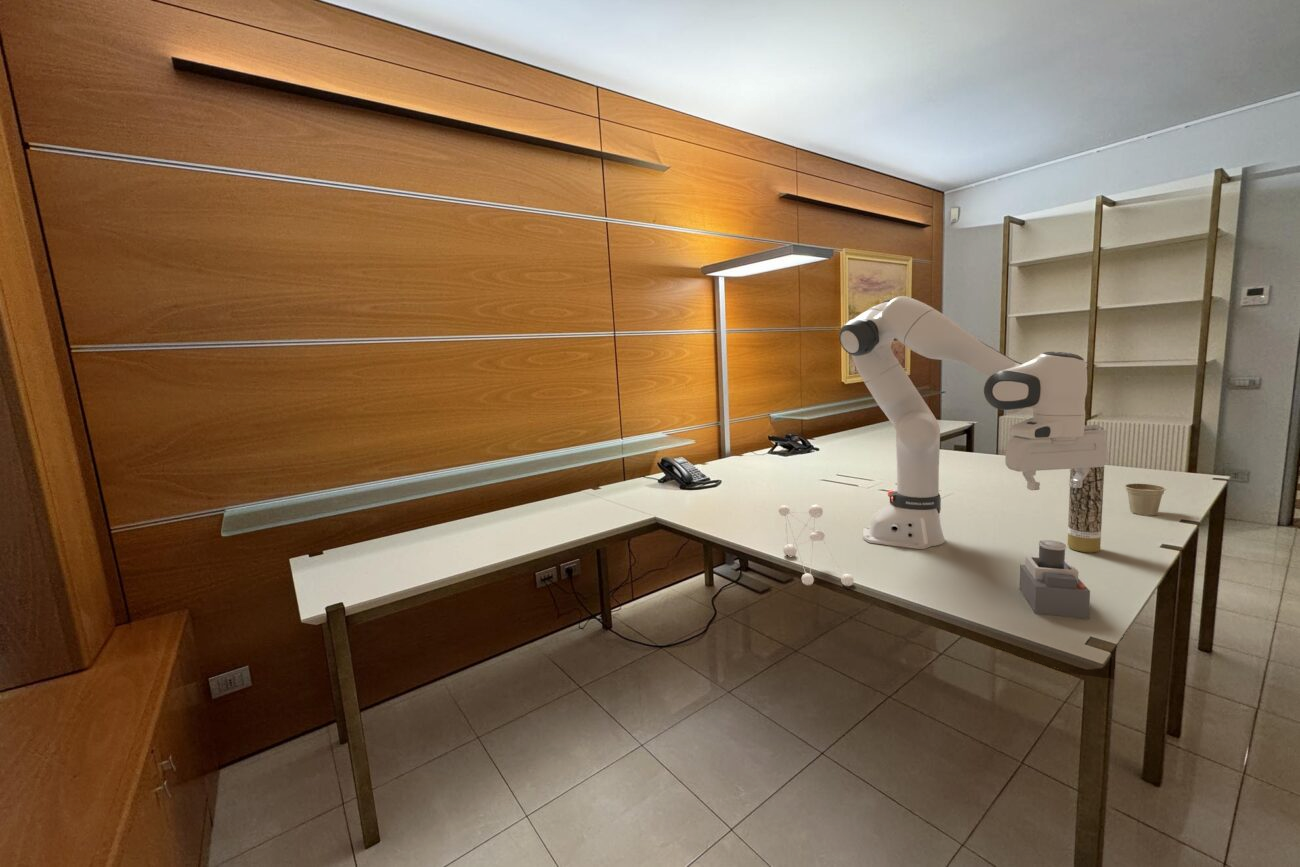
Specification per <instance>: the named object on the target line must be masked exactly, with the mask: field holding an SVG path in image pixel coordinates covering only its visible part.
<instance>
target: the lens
mask: <svg viewBox="0 0 1300 867" xmlns="http://www.w3.org/2000/svg"><path fill="white" fill-rule="evenodd" d="M1066 548H1067V545H1066V544H1065V543H1063V542H1061V541H1058V540H1052V539H1042V540H1039V541H1038V550H1039V551H1038V557H1039V565H1038V567H1043V568H1056V569H1064V562H1065V557H1066Z"/></svg>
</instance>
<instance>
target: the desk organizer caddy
mask: <svg viewBox="0 0 1300 867" xmlns="http://www.w3.org/2000/svg"><path fill="white" fill-rule="evenodd" d="M1038 565H1039V555H1037V556H1034V555H1025V564H1020V565H1019V585H1018V586H1019V591H1020V592H1021V594H1022V596H1023V597H1024V599H1025V600H1026V601H1027V603H1028V604H1029V606H1030V607H1031V610H1032V611H1033V612H1034V614H1038V615H1048V616H1056V617H1067V618H1077V619H1083V620H1085V619H1086V620H1090V601H1091V599H1090V598H1091V590H1090V589H1088V587H1087V586H1086V585H1085V584H1084V583H1083V582H1082V581H1081V580H1080V579H1079V571H1078V569H1077V568H1076V567H1075V566H1074V565H1073V564H1072V563H1071V562H1070V561H1069V560H1068V559H1067V558H1065V562H1064V569H1056V568H1043V567H1038Z"/></svg>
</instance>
